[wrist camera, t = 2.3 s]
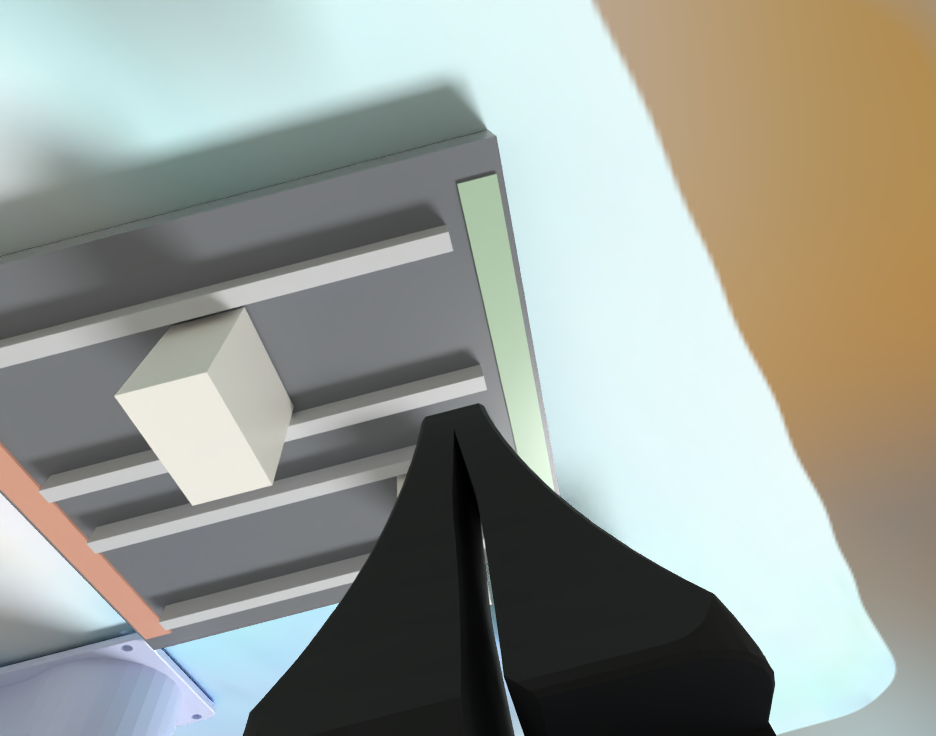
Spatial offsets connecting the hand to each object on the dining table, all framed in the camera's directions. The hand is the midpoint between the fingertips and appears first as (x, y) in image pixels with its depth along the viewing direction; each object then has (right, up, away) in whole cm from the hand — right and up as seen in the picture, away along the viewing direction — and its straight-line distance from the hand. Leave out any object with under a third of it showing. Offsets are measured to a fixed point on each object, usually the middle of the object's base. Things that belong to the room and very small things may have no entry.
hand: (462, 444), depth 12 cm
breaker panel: (-7, -1, +9) cm, 12 cm away
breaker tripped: (-8, +2, +6) cm, 10 cm away
